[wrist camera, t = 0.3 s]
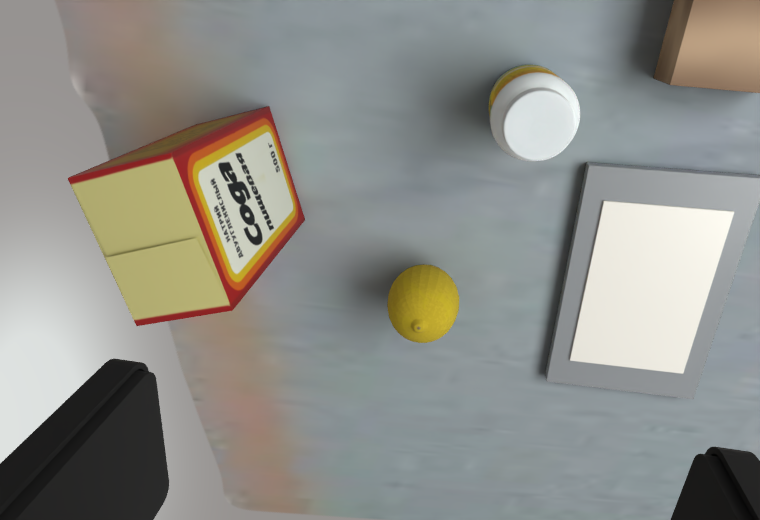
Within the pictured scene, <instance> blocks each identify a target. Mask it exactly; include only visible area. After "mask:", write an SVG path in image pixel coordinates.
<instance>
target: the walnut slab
mask: <svg viewBox="0 0 760 520" xmlns="http://www.w3.org/2000/svg"><path fill="white" fill-rule="evenodd" d="M654 79H656V80H659V81H662V82H664V83H667V84H669V85H677V86H688V87H699V88H711V89H722V90H733V91H744V92H755V93H760V0H674V2H673V6H672V10H671V14H670V17H669V21H668V25H667V29H666V33H665V36H664V40H663V44H662V48H661V52H660V55H659V59H658V63H657V67H656V71H655V74H654Z"/></svg>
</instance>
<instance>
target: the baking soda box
mask: <svg viewBox="0 0 760 520" xmlns="http://www.w3.org/2000/svg"><path fill="white" fill-rule="evenodd" d="M68 180H69V182H70V184H71V187H72V189H73V191H74V193H75V195H76V197H77V199H78V201H79V203H80V206H81V208H82V210H83V212H84V214H85V217H86V219H87V221H88V223H89V225H90V227H91V229H92V231H93V233H94V236H95V238H96V240H97V242H98V244H99V246H100V249H101V251H102V253H103V255H104V257H105V259H106V261H107V263H108V265H109V268H110V270H111V272H112V274H113V276H114V278H115V281H116V283H117V285H118V287H119V289H120V291H121V294H122V296H123V298H124V300H125V302H126V304H127V306H128V308H129V311H130V313H131V315H132V317H133V319H134V321H135V323H136V325H137V326H139V325H145V324H152V323H158V322H164V321H171V320H177V319H183V318H189V317H195V316H201V315H207V314H214V313H220V312H226V311H232V310H233V309H234V308H235V307H236V305H237V304H238V303H239V302H240V300H241V299H242V298H243V297H244V295H245V294H246V293H247V292H248V290H249V289H250V288H251V287H252V285H253V284H254V283H255V282H256V280H257V279H258V278H259V277H260V275H261V274H262V273H263V272H264V270H265V269H266V268H267V267H268V265H269V264H270V263H271V262H272V260H273V259H274V258H275V257H276V255H277V254H278V253H279V252H280V250H281V249H282V248H283V247H284V245H285V244H286V243H287V242H288V240H289V239H290V238H291V237H292V235H293V234H294V233H295V232H296V230H297V229H298V228H299V227H300V225H301V224H302V223H303V222H304V220H305V218H304V215H303V212H302V209H301V205H300V202H299V199H298V196H297V193H296V190H295V186H294V183H293V180H292V177H291V174H290V171H289V168H288V164H287V161H286V158H285V155H284V152H283V149H282V145H281V142H280V139H279V136H278V133H277V130H276V126H275V123H274V120H273V117H272V114H271V111H270V108H269V106H268V107H264V108H260V109H256V110H252V111H248V112H244V113H240V114H237V115H233V116H229V117H225V118H221V119H217V120H213V121H209V122H205V123H201V124H197V125H194V126H191V127H189V128H187V129H184V130H182V131H179V132H177V133H175V134H172V135H170V136H167V137H165V138H163V139H160V140H158V141H155V142H153V143H151V144H148V145H146V146H143V147H141V148H139V149H136V150H134V151H131V152H129V153H127V154H124V155H122V156H119V157H117V158H115V159H112V160H110V161H108V162H105V163H103V164H100V165H98V166H95V167H93V168H90V169H88V170H86V171H84V172H81V173H79V174H76V175H74V176H71V177H69V178H68Z"/></svg>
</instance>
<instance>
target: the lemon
mask: <svg viewBox="0 0 760 520" xmlns="http://www.w3.org/2000/svg"><path fill="white" fill-rule="evenodd" d="M387 306H388V313H389V318H390V320H391V322H392V325H393V327H394V328H395V329H396V330H397V332H398V333H399V334H400V335H402V336H403V337H404V338H406V339H408V340H410V341H413V342H418V343H427V342H432V341H435V340H437V339H439V338H441V337H442V336H443V335H444V334H446V333H447V332H448V331H449V329H450V328H451V326H452V325H453V323H454V322H455V319H456V316H457V313H458V310H459V295H458V291H457V288H456V285H455V284H454V282H453V280H452V278H451V277H450V276H449V275H448V274H447V273H446V272H445V271H443V270H441V269H440V268H438V267H435V266H432V265H424V264H423V265H416V266H413V267H410V268H408V269H406V270H405V271H404V272H402V273H401V274H400V275H399V276H398V277H397V278H396V280H395V281H394V282H393V284H392V287H391V289H390V291H389V295H388V304H387Z"/></svg>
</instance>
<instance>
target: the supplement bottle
mask: <svg viewBox="0 0 760 520" xmlns="http://www.w3.org/2000/svg"><path fill="white" fill-rule="evenodd" d="M489 117H490V126H491V131H492V134H493V136H494V139H495V141H496V142H497V144H498V145H499V146H500V148H501V149H502V150H503V151H505V152H506V153H507V154H509V155H510V156H512V157H514V158H517V159H520V160H524V161H542V160H546V159H549V158H552V157H554V156H556V155H557V154H559V153H560V152H562V151H563V150H564V149H565V148H566V146H567V145H568V144H569V143H570V142H571V140H572V139H573V137H574V135H575V133H576V131H577V129H578V126H579V121H580V107H579V102H578V99H577V97H576V95H575V93H574V91H573V90H572V88H571V87H570V86H569V85H568V84H567V83H566V82H565V81H563V80H562V79H561V78H559V77H558V76H557V75H556V74H554V73H553V72H552V71H550V70H548V69H547V68H544V67H541V66H538V65H521V66H517V67H514V68H512V69H510V70H509V71H507V72H506V73H504V74H503V75H502V76H501V77H500V78H499V79H498V80H497V82H496V83H495V85H494V87H493V89H492V91H491V94H490V98H489Z"/></svg>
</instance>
